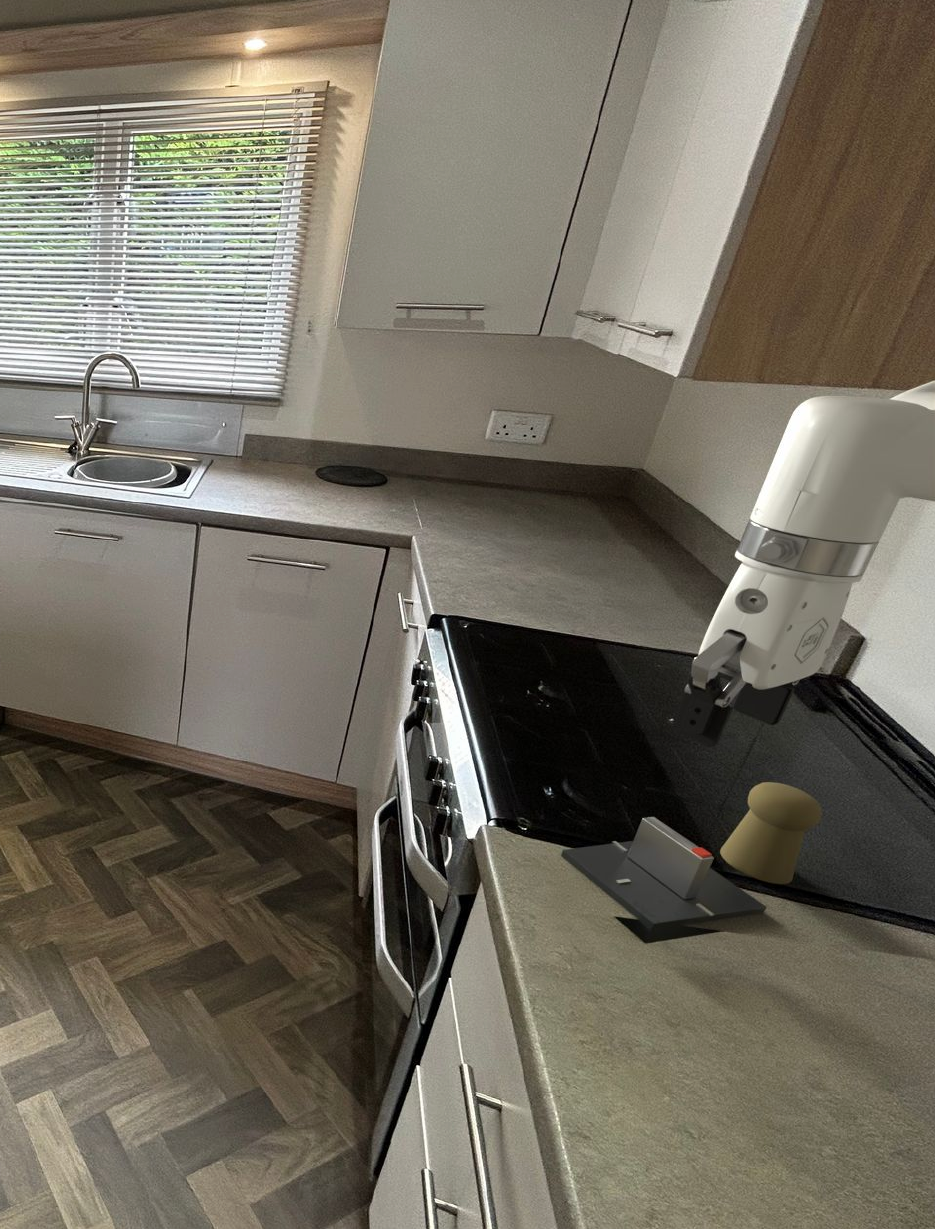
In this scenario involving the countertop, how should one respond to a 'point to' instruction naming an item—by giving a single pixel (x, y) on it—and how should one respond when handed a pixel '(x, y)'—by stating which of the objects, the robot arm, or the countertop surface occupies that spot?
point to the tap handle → (670, 857)
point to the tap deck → (659, 895)
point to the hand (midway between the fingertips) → (724, 727)
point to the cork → (771, 832)
